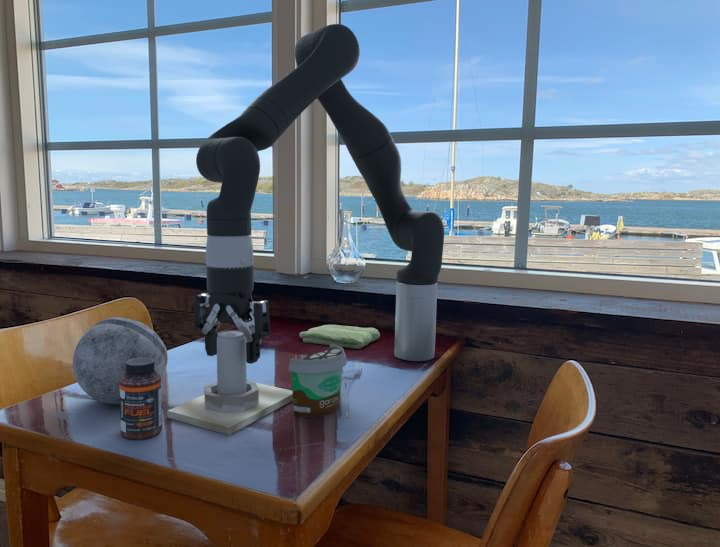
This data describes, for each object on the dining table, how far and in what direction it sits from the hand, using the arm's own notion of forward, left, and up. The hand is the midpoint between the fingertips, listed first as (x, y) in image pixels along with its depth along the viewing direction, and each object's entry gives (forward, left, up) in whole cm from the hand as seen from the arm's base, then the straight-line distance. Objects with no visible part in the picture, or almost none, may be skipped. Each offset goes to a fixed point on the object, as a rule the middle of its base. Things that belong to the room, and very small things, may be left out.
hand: (232, 358), depth 93 cm
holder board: (-1, 0, -9) cm, 9 cm away
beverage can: (0, 0, -8) cm, 8 cm away
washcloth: (-49, -7, -10) cm, 51 cm away
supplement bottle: (+14, -6, -9) cm, 18 cm away
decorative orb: (+7, -19, -9) cm, 22 cm away
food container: (-8, +14, -9) cm, 18 cm away
